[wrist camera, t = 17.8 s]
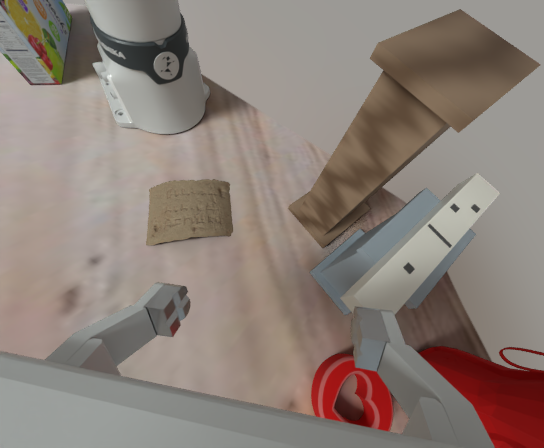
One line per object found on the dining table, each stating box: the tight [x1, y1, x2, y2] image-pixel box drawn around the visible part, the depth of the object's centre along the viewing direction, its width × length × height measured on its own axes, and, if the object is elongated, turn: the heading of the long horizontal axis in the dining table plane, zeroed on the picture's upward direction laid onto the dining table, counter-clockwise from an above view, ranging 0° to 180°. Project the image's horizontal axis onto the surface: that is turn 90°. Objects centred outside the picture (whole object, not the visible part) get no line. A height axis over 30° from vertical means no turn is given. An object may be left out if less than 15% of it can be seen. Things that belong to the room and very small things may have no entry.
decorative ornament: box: [311, 354, 393, 432], centre depth 28 cm, size 10×10×3 cm
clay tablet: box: [146, 179, 233, 245], centre depth 35 cm, size 14×10×3 cm
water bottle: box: [418, 346, 544, 448], centre depth 21 cm, size 9×11×25 cm
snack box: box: [0, 0, 72, 85], centre depth 38 cm, size 21×6×15 cm, turn 13°
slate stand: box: [310, 188, 476, 315], centre depth 30 cm, size 8×12×15 cm, turn 129°
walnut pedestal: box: [288, 9, 540, 248], centre depth 28 cm, size 9×12×26 cm
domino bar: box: [340, 173, 500, 315], centre depth 21 cm, size 3×21×2 cm, turn 128°
